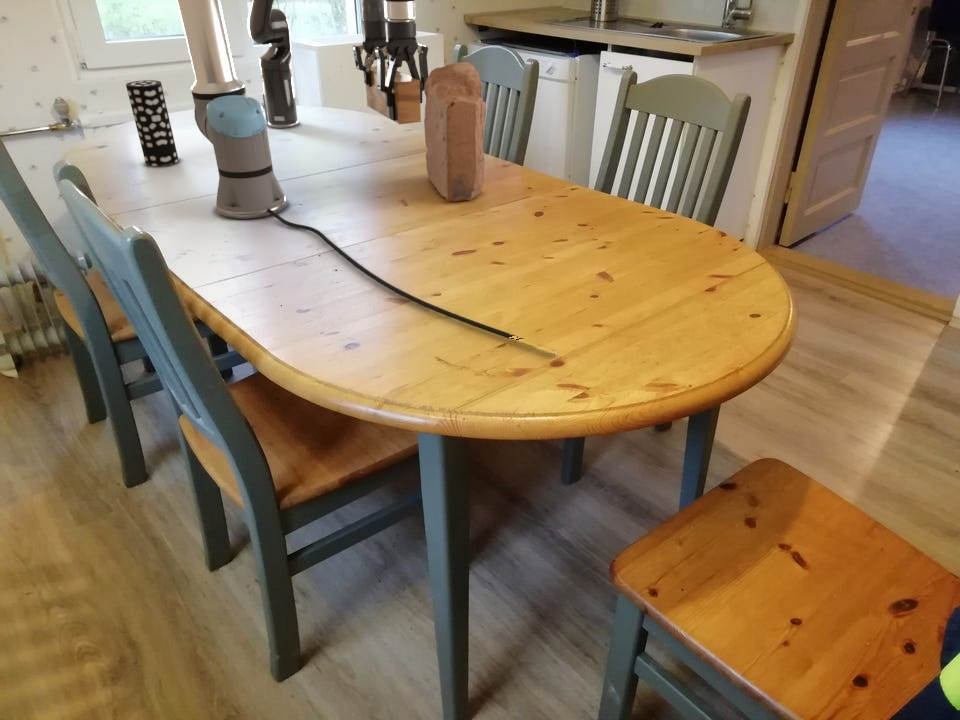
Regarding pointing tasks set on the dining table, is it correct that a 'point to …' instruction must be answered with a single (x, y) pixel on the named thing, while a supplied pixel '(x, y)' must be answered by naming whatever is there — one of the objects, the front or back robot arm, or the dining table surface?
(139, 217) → the dining table surface
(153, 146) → the black white spotted cylinder
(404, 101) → the box
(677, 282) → the dining table surface
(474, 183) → the stone
